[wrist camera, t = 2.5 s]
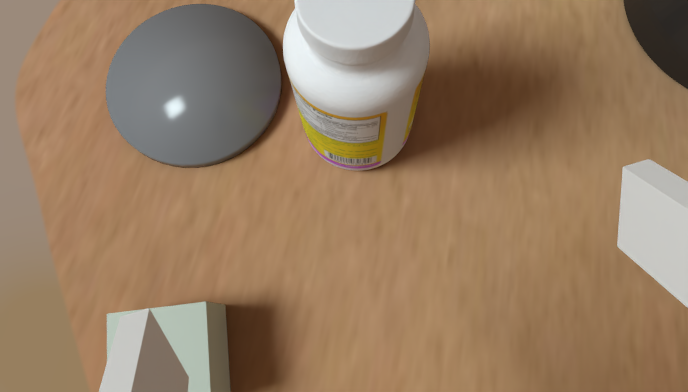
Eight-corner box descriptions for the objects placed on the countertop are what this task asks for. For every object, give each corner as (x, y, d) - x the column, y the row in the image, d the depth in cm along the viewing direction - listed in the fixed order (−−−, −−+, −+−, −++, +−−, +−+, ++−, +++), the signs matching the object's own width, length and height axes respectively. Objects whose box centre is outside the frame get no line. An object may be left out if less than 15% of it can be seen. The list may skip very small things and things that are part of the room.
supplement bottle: (369, 56, 33) (376, -107, 21) (431, 134, 32) (480, 9, 19) (283, 112, 32) (236, -23, 20) (343, 195, 31) (333, 105, 18)
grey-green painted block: (226, 304, 29) (205, 301, 26) (231, 396, 28) (211, 407, 24) (140, 315, 29) (106, 313, 26) (141, 407, 28) (107, 420, 24)
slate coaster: (240, -14, 35) (237, -22, 34) (310, 120, 32) (309, 115, 31) (88, 53, 34) (81, 47, 33) (147, 197, 31) (142, 194, 30)
